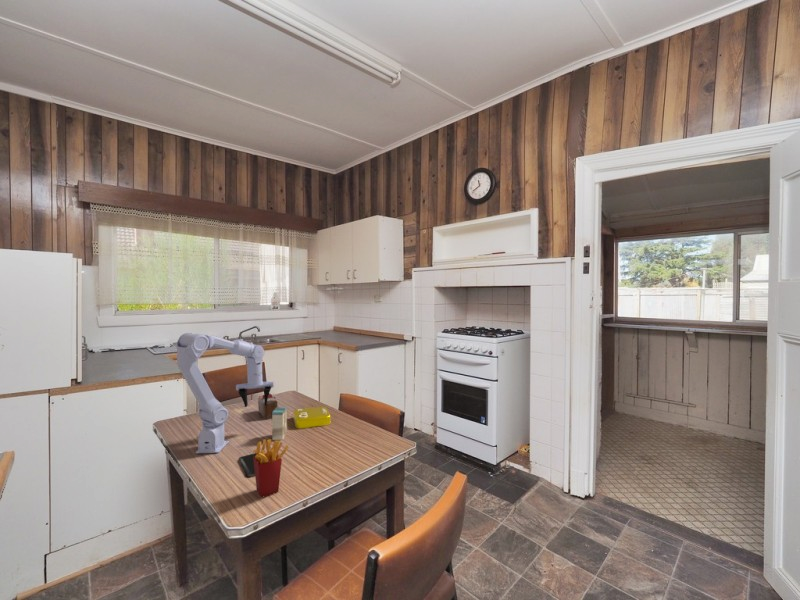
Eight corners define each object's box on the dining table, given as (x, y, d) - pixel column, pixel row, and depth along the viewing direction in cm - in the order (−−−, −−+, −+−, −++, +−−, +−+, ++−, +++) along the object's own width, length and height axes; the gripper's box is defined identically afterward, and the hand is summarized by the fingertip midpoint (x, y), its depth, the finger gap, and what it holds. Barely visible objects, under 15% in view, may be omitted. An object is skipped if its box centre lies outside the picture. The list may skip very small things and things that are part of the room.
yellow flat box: (331, 425, 154) (331, 415, 154) (296, 430, 148) (296, 419, 148) (325, 414, 168) (325, 404, 168) (293, 418, 162) (293, 408, 162)
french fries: (258, 500, 97) (258, 447, 97) (251, 487, 104) (251, 437, 104) (289, 490, 103) (289, 439, 102) (280, 478, 109) (281, 430, 109)
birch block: (282, 439, 138) (282, 412, 138) (272, 440, 137) (272, 412, 137) (286, 433, 144) (286, 407, 144) (276, 434, 143) (276, 407, 143)
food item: (256, 411, 170) (256, 391, 170) (273, 409, 174) (273, 389, 174) (262, 420, 158) (262, 398, 158) (280, 417, 163) (280, 396, 163)
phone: (248, 476, 109) (238, 457, 121) (248, 479, 109) (238, 460, 121) (273, 468, 114) (262, 451, 126) (273, 472, 114) (262, 454, 126)
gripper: (274, 369, 151) (275, 400, 151) (238, 372, 147) (239, 403, 148) (272, 373, 144) (273, 406, 145) (234, 376, 140) (235, 409, 141)
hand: (256, 405), depth 146 cm, fingers open, 7 cm apart
